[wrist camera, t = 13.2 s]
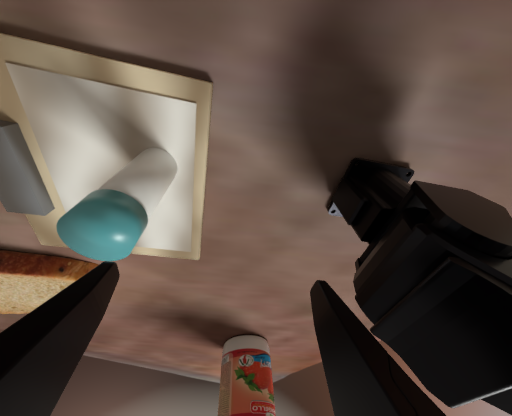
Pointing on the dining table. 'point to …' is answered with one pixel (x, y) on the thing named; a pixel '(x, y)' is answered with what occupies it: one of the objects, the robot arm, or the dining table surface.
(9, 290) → the bread slice
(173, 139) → the clipboard
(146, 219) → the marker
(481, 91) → the dining table surface
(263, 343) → the fruit juice
